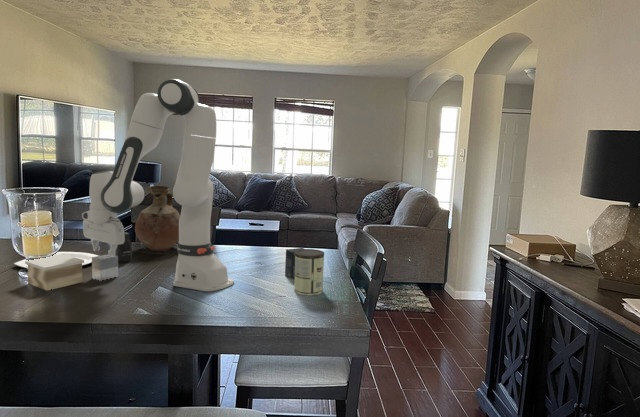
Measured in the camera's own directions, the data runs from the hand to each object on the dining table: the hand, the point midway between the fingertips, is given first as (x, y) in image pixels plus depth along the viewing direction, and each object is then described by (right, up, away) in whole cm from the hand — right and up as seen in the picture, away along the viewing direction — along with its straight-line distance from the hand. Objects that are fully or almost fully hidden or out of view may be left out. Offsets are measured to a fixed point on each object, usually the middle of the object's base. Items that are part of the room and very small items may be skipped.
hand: (104, 253), depth 159 cm
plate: (-26, -7, +17) cm, 32 cm away
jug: (+3, -3, +49) cm, 49 cm away
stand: (-13, -10, -7) cm, 18 cm away
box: (+70, -11, +13) cm, 72 cm away
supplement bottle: (-4, -6, +25) cm, 26 cm away
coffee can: (+75, -13, -5) cm, 76 cm away
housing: (0, -9, +1) cm, 9 cm away
